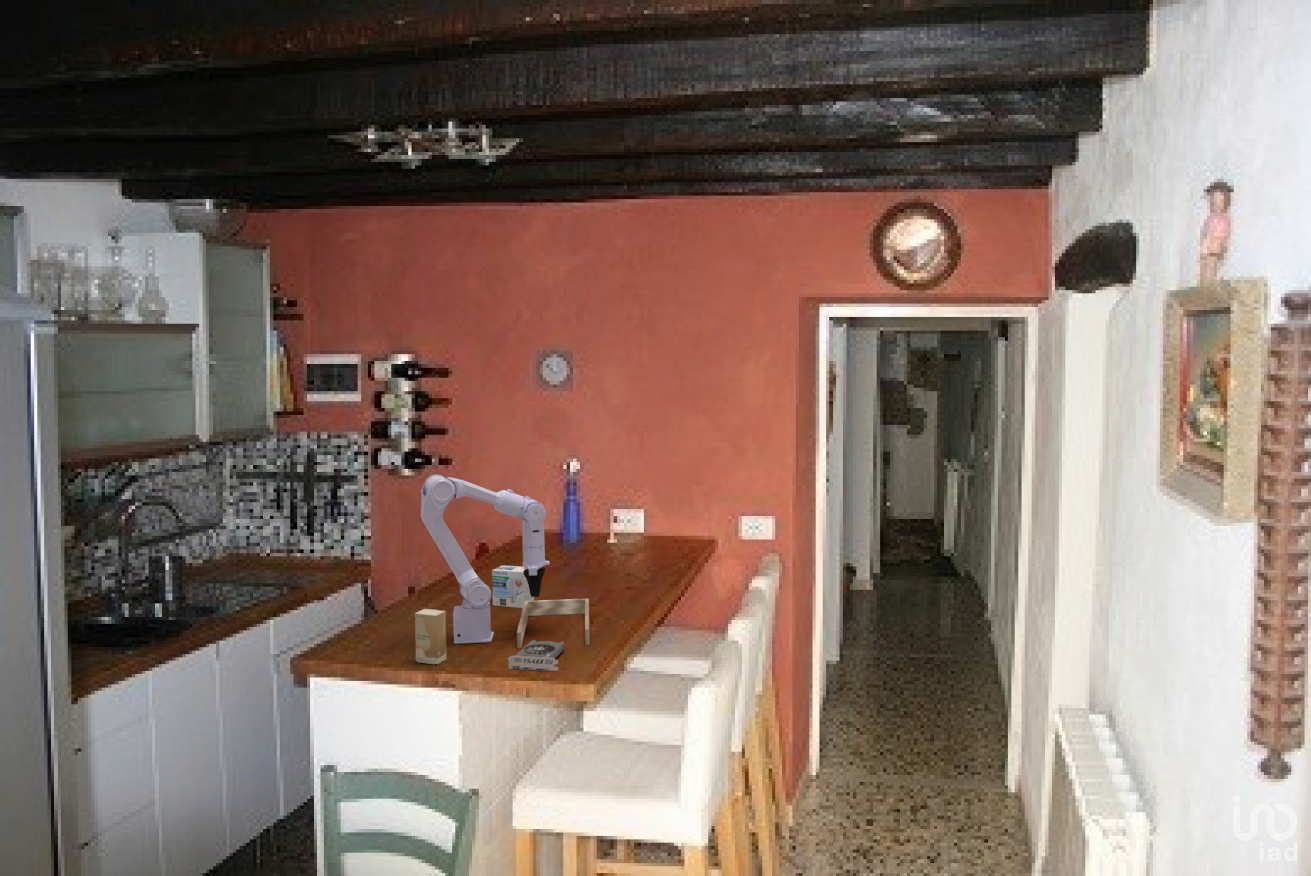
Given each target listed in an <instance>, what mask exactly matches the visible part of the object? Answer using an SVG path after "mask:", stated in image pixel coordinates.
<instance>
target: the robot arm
mask: <svg viewBox="0 0 1311 876" xmlns="http://www.w3.org/2000/svg"><path fill="white" fill-rule="evenodd" d="M420 492H421V493H420V494H421V495H420V496H421V502H420V503H421V504H420V519H421V521H422V523H423V524H424V526H425V528H426V530H427V531H428V532H429V534H430V536H431V537H432V539H433V541H434V543H435V545H436V546H437V547H438V549H439V551H440V553H441V554H442V556H443V558H444V559H445V561H446V562H447V565H448V566H449V567H450V570H451V571H452V573H453V574H454V576H455V578H456V580H457V582H458V584H459V591H460V594H461V596H462V597H463V598H464V599H463V600H462V602H461V605H455V606H454V607H453V614H452V615H453V616H452V621H453V622H452V623H453V644H455V645H456V644H473V643H474V644H476V643H479V644H480V643H492V641H493V637H494V635H495V632H494V631H492V624H491V623H492V622H491V602H490V601H491V599H492V590H491V588H490V587H489V585H487V584H485V583H484V582H483V580H482V579H481V578H480V577H479V576H478V574H477V573H476V572H475V570H474V569H473V567H472V565H471V564H470V562H469V560H468V558H467V557H466V555H465V553H464V552H463V550H462V549H461V546H460V545H459V543H458V541H457V540H456V538H455V537H454V535H453V533H452V531H451V530H450V528H449V527H448V525H447V523H446V521H445V520H444V518H443V516H444V514H445V511H446V507H447V506H448V505H449V503H450V502H451V501H452V500H453V498H454V499H460V498H463V497H468V498H472V499H474V500H478V501H481V502H485V503H488V504H492V505H493V507H494V510H495V511H496V512H499V513H502V514H505V515H508V516H511V517H514V518H517V519H519V518H520V519H521V522H522V528H521V532H522V560H523V561H522V567H525V568H527V569H525V570H524V571H523V574H524V576H525V577H526V580H527V582H528V586H529V590H530V594H531V597H534V598H539V597H540V594H541V589H542V580H543V577H544V575H545V574H546V567H545V566H547V565H548V566H549V565H550V564H551V563H550V560H546V552H545V548H546V547H545V543H546V542H545V525H544V521H545V519H546V517H547V514H548V512H547V510H546V508H545V506H544V504H542V503H541V502H539V501H537V500H536V499H533V498H531V497H529V496H528V495H525V496H522V495H519V494H517V493H515V492H514V490H512V489H510V488H507V490H505V489H502V490H499V491H492V490H490V489H487V488H485V487H482V486H479V485H476V484H474V483H471V482H469V481H466V480H464V479H459V478H455V477H450V476H446V477H445V476H444V475H441V474H431V475H430V476H428V477H427V478H426V480H425V482H424V484H423V486H422V488H421V490H420Z"/></svg>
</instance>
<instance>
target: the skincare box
mask: <svg viewBox="0 0 1311 876" xmlns="http://www.w3.org/2000/svg"><path fill="white" fill-rule="evenodd" d="M446 616H447V613H446V610H438V609H429V608H423V609H421V610H418V611H416V612H415V613H414V618H415V619H414V629H415V630H414V632H415V634H414V636H415V639H414V640H415V662H416V661H417V662H416V663H421V664H422V663H423V664H428V665H429V664H430V665H435V664H437V665H439V664H441V663H442V661H443V662H445V661H447V621H446V620H447V617H446Z"/></svg>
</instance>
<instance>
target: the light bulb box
mask: <svg viewBox="0 0 1311 876" xmlns="http://www.w3.org/2000/svg"><path fill="white" fill-rule="evenodd" d="M525 569H527V568H525V567H524V566H516V565H505V564H504V565H500V566H498V567H496V568H494V569H491V582H492V583H491V584H492V585H491V587H492V590H491V592H492V606H495V607H496V606H497V607H506V608H507V607H508V608H518V609H523V605H524V601H535V597H531V594H530V590H529V586H528V582H527V580H526V577H525V576H524V574H523V571H524V570H525Z"/></svg>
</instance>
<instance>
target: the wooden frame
mask: <svg viewBox="0 0 1311 876" xmlns="http://www.w3.org/2000/svg"><path fill="white" fill-rule="evenodd" d="M589 600H590V599H589V598H571V599H568V598H567V599H545V600H544V599H543V600H539V599H538V600H534V601H524V605H523V608H521V609H522V610H521V615H520V620H519V623H518V627H517V630H516V642H517V643H516V644H517V649H523V647H522V646H523V642H524V638H525V633H526V628H527V624H528V618H529V616H530V617H531V616H533V617H534V616H555V615H556V616H557V615H559V616H562V615H582V614H584V630H585V631H584V632H585V633H584V634H585V635H584V638H585V646H590V645H591V644H590V639H591V638H590V604H589V603H590V601H589Z"/></svg>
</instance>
